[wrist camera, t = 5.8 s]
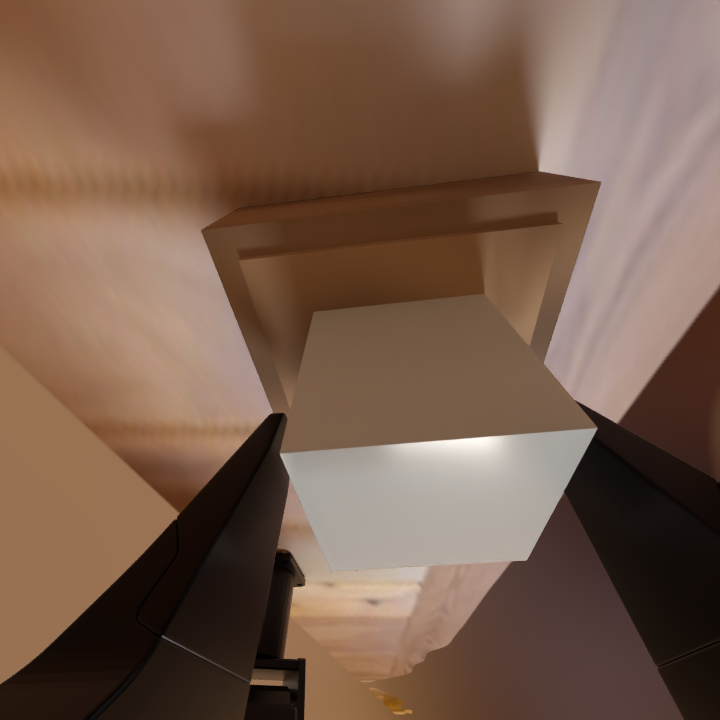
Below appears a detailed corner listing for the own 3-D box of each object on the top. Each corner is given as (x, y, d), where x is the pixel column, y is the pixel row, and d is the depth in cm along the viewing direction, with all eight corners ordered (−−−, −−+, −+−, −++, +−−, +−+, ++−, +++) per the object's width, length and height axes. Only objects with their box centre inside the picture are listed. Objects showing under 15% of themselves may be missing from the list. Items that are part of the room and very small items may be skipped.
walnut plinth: (492, 397, 16) (519, 449, 13) (302, 413, 16) (292, 466, 13) (539, 171, 10) (608, 183, 7) (237, 208, 10) (196, 232, 8)
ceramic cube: (466, 414, 12) (526, 560, 8) (339, 424, 12) (330, 571, 8) (484, 293, 9) (598, 428, 5) (313, 311, 9) (279, 453, 5)
